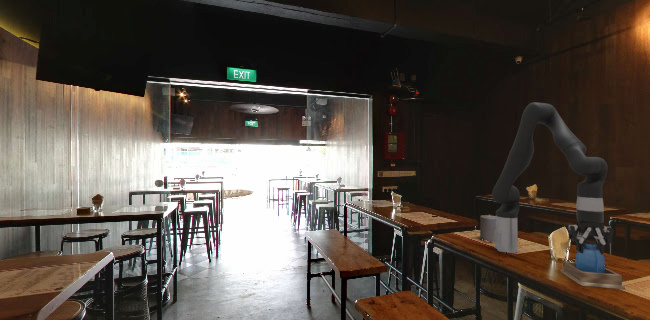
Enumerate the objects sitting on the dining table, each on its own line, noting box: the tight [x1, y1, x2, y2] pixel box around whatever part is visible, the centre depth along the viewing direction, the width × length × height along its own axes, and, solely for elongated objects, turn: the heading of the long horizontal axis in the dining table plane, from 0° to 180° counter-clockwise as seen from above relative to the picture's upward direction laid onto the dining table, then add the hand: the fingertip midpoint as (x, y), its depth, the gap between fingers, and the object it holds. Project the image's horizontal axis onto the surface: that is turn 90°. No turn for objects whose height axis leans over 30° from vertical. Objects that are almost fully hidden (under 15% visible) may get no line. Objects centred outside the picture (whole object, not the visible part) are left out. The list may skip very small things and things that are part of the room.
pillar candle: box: [479, 214, 496, 241], centre depth 162 cm, size 10×10×15 cm
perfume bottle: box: [575, 238, 606, 273], centre depth 108 cm, size 6×6×12 cm
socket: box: [560, 261, 626, 290], centre depth 107 cm, size 13×13×4 cm
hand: (590, 253), depth 108 cm, fingers closed on perfume bottle, 5 cm apart
